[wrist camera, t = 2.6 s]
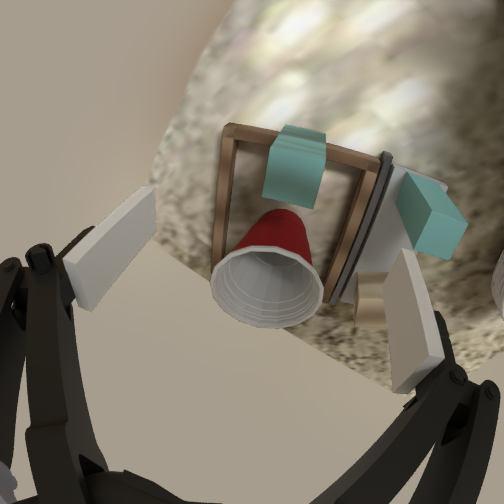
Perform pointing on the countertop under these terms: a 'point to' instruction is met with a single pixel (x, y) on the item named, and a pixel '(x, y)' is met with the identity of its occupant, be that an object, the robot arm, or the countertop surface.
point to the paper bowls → (499, 285)
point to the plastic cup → (269, 275)
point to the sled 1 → (293, 181)
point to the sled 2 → (407, 224)
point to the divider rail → (363, 224)
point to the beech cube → (369, 299)
